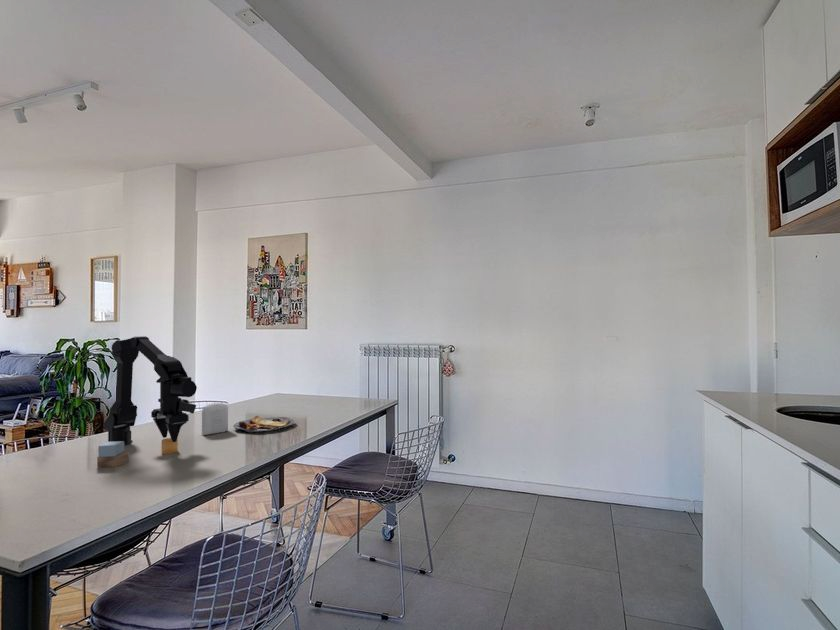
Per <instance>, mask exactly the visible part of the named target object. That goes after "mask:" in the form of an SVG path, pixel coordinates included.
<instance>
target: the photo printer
mask: <svg viewBox="0 0 840 630" xmlns="http://www.w3.org/2000/svg"><path fill="white" fill-rule="evenodd" d="M225 431H227V432H228V431H229V406H228V404H227V403H223V402H213V403H208V404H206V405H203V407H202V409H201V435H202V436H209V435H214V434H220V432H221V433H226V432H225Z"/></svg>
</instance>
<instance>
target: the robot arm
mask: <svg viewBox="0 0 840 630" xmlns="http://www.w3.org/2000/svg"><path fill="white" fill-rule="evenodd" d="M111 352H112V355H111V356H112V357H113V359H114V361H115V362H116V363H117V364H116V365H117V366H116V383H115V401H114V403H113V404H112V405H111V407H110V409H109V413H108V416H107V418H106V419H105V421H104V423H102V426H103V430H104V431H107V433H108V434H107V442H115V441H124V446H126V445H128V444H130V443H132V442H133V440H132V430H131V427H134V426H135V425H136V421H137V417H138V406H137V404H134V403H133V401H132V395H133V393H132V392H133V391H132V390H133V372H134V371H133V369H134V368H133V367H134V363H135V362H136V360H137V358H138V357H139V355H140V354H141V355H143V356H144V357H145V358H146V359H147V360H149V362H150V363H152V365H153V371H155V373H156V374H157V376H158V377H159V378H157V380H156V383H157V384H159V385H160V386H159V394H160V395H159V397H160V398H158V399H157V401H158V402H159V403H160V404H159V405H160V406H159V407H158V408H153V410H152V411H151V417H150V418H152V420H153V421H154V423H155V426H156V427H157V429H158V430H159V433H160V434H161V436H162V438H163V439H167V437H168V433H169V438H171V439H172V442H176V441H177V438H178V437H179V433H180V430H181V428H182V426H184V425H185V424H187V423H188V422H189V417H190V415H188V414H187V413H190V414H194V413H195V412H196V411H195V410H196V407H197V404H193V403H191V402H189V400H188V399H184V398H191V397H193V396H194V395H196V392H197V385H196V383H195V381H194V380H192V377H190V376H188V373H187V372H186V369H185V368H184V366H183V364H182V362H181V360H179V359H177V358H176V357H174V356H171V355H167V354H165V352H163V351H162V350H161V349H160V348H159V347H158V346H156V344H154V343H153V342H152V341H151V340H150V338H149V337H148V336H144V335H143V336H133V337H130V338H127V339H126V338H125V339H117V340H115V341H114V342H113V343H112V345H111ZM183 397H184V398H183ZM185 412H187V413H185Z"/></svg>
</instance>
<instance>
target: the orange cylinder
mask: <svg viewBox="0 0 840 630" xmlns="http://www.w3.org/2000/svg"><path fill="white" fill-rule="evenodd" d="M178 443H179V439H178V438H177V441H176V442H172V439H171V437H168V438H167V437H166V438H163V439H162V440H161V454H162V455H172V453H173V454H176V453H178V452H179V445H178ZM177 451H178V452H177ZM175 452H176V453H175Z"/></svg>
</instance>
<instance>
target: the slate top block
mask: <svg viewBox="0 0 840 630" xmlns="http://www.w3.org/2000/svg"><path fill="white" fill-rule="evenodd" d="M97 451H98V456H97V457H111V456H117V455H119V454H121V453H123V452H124V451H125V445H124V441H115V442H108V441H107V442H104V443H102V444H100V445H98V449H97Z"/></svg>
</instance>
